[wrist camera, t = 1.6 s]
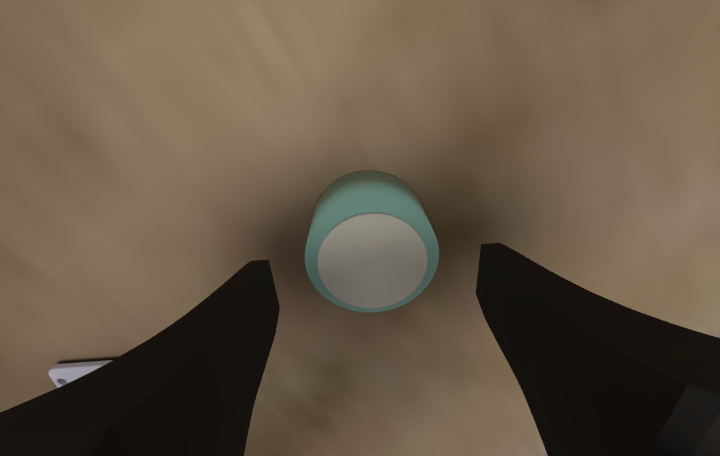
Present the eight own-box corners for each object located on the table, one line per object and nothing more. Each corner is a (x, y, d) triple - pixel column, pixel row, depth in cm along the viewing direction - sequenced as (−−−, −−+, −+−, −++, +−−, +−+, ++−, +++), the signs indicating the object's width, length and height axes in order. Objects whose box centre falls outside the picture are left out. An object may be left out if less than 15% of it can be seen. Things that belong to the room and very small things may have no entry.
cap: (421, 264, 16) (438, 312, 13) (320, 272, 16) (313, 322, 13) (423, 165, 14) (443, 196, 11) (305, 174, 14) (292, 208, 11)
